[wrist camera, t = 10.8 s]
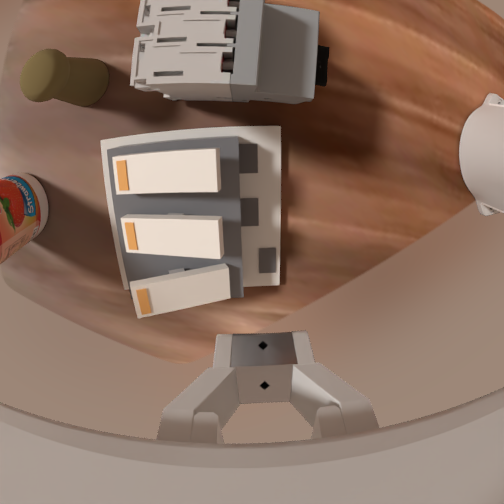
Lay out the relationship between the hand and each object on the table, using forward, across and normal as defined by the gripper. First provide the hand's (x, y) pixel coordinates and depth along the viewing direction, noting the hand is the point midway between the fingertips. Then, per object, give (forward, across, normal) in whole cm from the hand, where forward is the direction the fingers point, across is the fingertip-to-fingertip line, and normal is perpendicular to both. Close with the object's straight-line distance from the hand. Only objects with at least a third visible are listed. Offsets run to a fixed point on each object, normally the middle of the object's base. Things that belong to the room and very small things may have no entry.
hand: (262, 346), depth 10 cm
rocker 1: (+20, +7, -3) cm, 22 cm away
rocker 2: (+20, +7, +3) cm, 22 cm away
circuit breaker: (+26, +1, -13) cm, 29 cm away
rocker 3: (+20, +8, +9) cm, 23 cm away
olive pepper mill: (+26, +19, -14) cm, 35 cm away
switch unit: (+26, +7, +3) cm, 27 cm away
